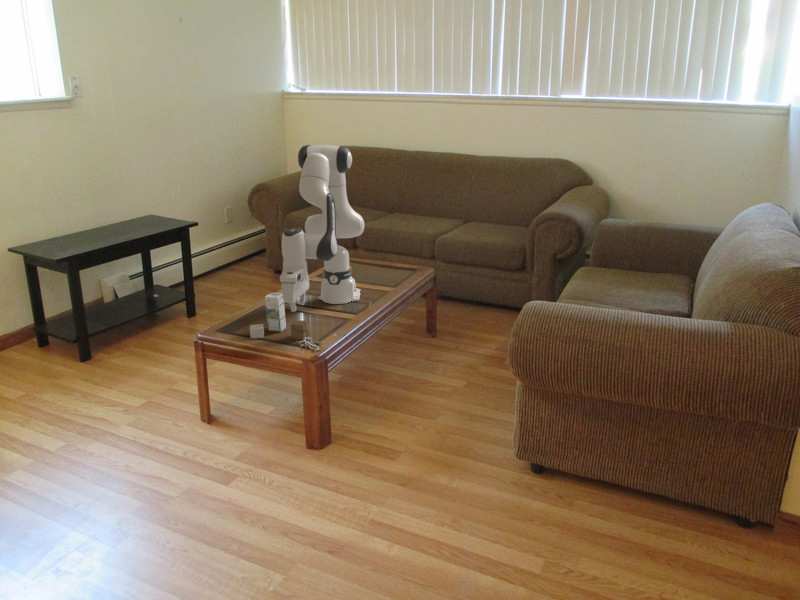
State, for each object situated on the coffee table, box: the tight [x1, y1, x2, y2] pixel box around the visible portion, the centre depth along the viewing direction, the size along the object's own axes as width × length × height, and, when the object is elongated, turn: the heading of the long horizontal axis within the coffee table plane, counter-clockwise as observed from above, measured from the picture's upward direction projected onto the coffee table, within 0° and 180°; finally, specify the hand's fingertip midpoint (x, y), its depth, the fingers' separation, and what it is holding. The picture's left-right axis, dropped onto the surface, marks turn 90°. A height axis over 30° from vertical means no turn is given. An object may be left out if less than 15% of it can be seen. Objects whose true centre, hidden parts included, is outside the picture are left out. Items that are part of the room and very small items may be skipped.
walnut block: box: [290, 319, 309, 341], centre depth 262 cm, size 5×5×6 cm
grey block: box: [249, 323, 265, 339], centre depth 265 cm, size 5×5×4 cm
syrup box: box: [264, 292, 287, 333], centre depth 270 cm, size 6×6×14 cm
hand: (298, 307), depth 259 cm, fingers open, 8 cm apart
